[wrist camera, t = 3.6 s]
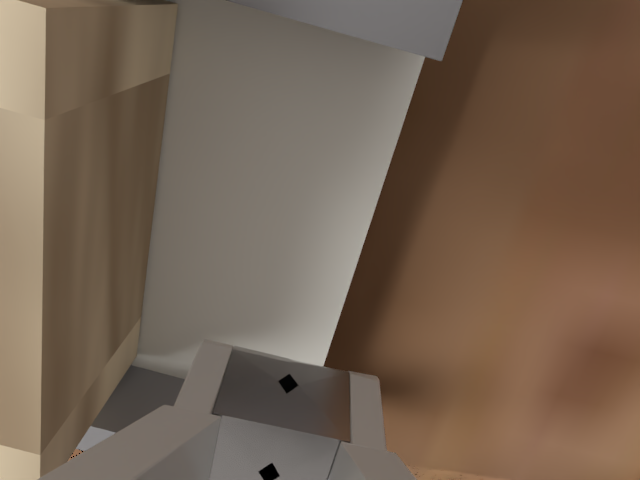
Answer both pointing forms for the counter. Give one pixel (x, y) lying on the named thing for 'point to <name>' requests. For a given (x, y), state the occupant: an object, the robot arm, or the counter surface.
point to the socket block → (74, 211)
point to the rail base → (268, 177)
